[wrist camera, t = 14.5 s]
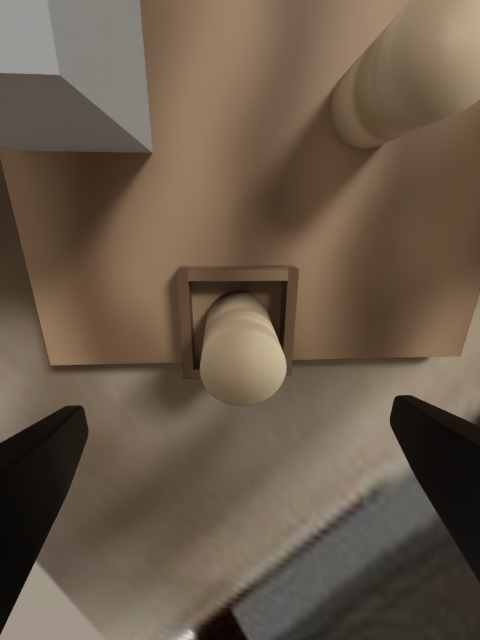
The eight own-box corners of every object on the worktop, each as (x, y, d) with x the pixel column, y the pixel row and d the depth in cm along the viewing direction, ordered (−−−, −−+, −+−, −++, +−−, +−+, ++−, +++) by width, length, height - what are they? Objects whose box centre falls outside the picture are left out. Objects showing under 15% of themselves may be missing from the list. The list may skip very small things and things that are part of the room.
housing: (138, -22, 11) (-38, -512, 3) (152, 153, 13) (59, 75, 5) (-24, -30, 10) (-593, -589, 3) (16, 150, 12) (-278, 63, 5)
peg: (410, 62, 12) (530, -32, 7) (396, 150, 13) (491, 118, 9) (334, 59, 12) (406, -39, 7) (325, 149, 13) (384, 115, 8)
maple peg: (269, 291, 15) (289, 330, 10) (266, 347, 16) (283, 405, 12) (206, 290, 15) (198, 330, 10) (207, 347, 16) (200, 406, 11)
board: (531, 15, 13) (605, -33, 10) (441, 349, 19) (475, 371, 16) (-16, -11, 12) (-82, -72, 9) (65, 357, 17) (38, 382, 15)
